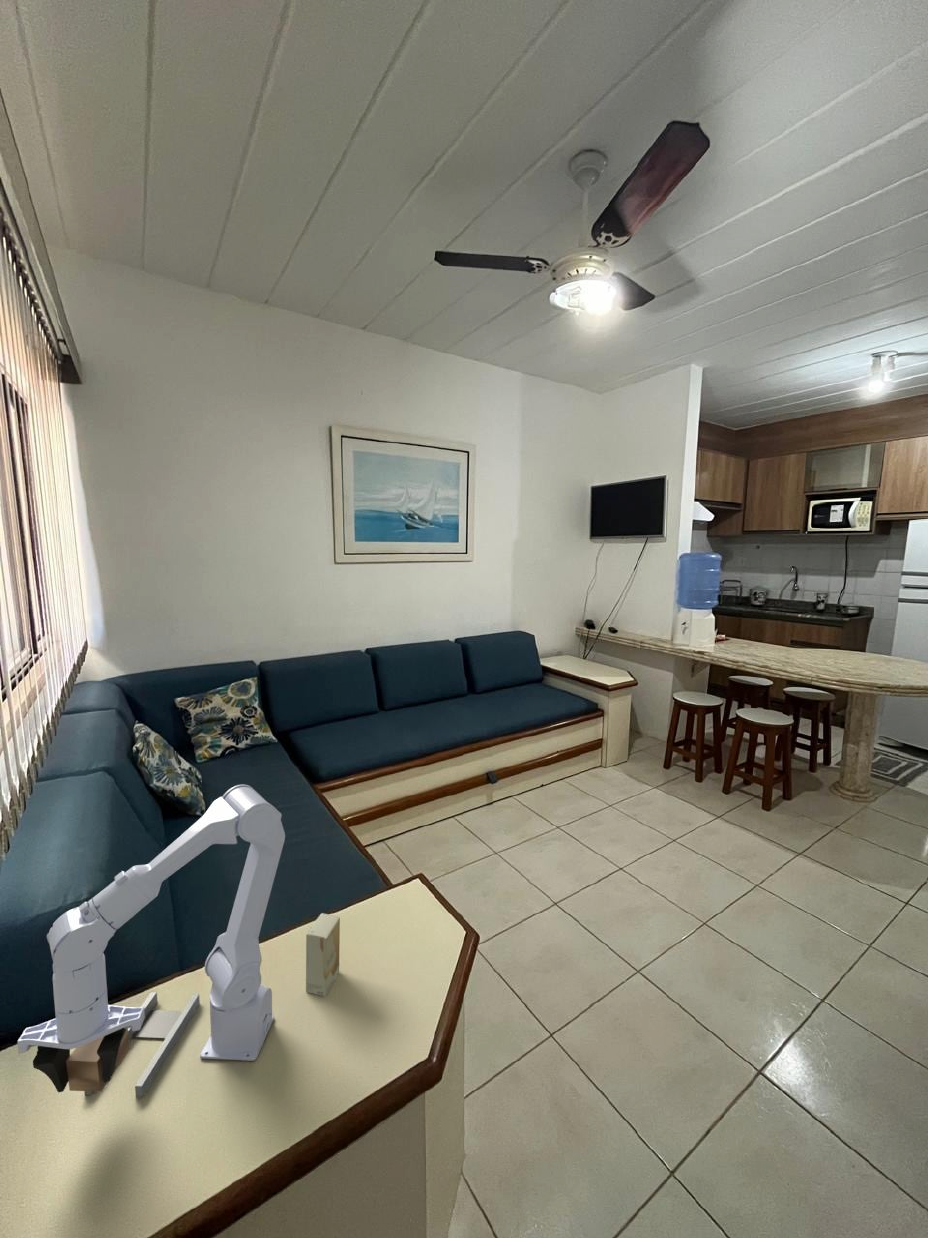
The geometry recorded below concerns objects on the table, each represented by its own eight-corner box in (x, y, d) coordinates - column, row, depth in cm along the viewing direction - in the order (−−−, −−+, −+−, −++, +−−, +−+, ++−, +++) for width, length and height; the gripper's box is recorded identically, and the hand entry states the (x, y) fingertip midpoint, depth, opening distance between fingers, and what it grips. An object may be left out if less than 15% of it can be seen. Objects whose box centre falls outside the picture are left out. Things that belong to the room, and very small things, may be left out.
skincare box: (325, 997, 93) (325, 939, 92) (305, 993, 94) (304, 935, 92) (340, 970, 99) (340, 915, 98) (321, 966, 100) (321, 911, 99)
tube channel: (199, 1003, 91) (199, 994, 91) (142, 1097, 75) (141, 1086, 75) (152, 1001, 91) (151, 991, 91) (84, 1094, 75) (83, 1083, 75)
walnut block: (129, 1049, 75) (127, 1021, 75) (100, 1091, 69) (97, 1061, 69) (101, 1048, 76) (98, 1020, 75) (69, 1090, 70) (65, 1060, 69)
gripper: (150, 962, 74) (154, 1041, 75) (36, 981, 70) (43, 1064, 72) (132, 1004, 67) (136, 1089, 69) (4, 1027, 63) (12, 1117, 65)
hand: (87, 1080), depth 70 cm, fingers closed on walnut block, 5 cm apart
